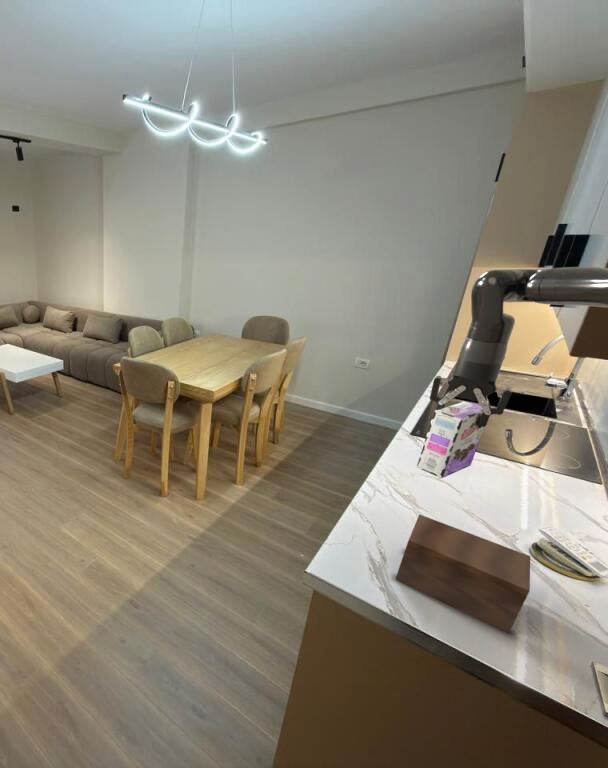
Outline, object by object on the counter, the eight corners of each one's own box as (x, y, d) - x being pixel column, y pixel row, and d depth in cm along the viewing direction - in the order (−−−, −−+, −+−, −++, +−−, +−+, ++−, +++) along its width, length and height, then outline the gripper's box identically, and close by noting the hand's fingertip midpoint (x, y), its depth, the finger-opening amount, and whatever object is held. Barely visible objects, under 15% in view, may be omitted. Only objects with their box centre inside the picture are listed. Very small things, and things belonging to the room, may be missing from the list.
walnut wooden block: (510, 597, 83) (530, 556, 79) (508, 634, 76) (529, 590, 72) (406, 551, 95) (419, 514, 92) (395, 579, 88) (408, 539, 84)
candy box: (441, 479, 96) (462, 418, 91) (415, 467, 101) (433, 409, 96) (471, 466, 102) (492, 408, 96) (445, 455, 107) (463, 399, 101)
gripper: (438, 355, 94) (419, 418, 99) (524, 368, 84) (498, 437, 90) (442, 349, 99) (424, 409, 104) (524, 361, 89) (500, 426, 94)
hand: (458, 422), depth 97 cm, fingers closed on candy box, 7 cm apart
